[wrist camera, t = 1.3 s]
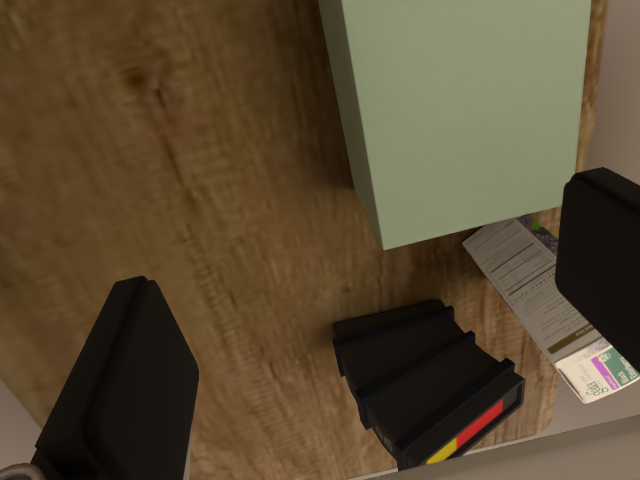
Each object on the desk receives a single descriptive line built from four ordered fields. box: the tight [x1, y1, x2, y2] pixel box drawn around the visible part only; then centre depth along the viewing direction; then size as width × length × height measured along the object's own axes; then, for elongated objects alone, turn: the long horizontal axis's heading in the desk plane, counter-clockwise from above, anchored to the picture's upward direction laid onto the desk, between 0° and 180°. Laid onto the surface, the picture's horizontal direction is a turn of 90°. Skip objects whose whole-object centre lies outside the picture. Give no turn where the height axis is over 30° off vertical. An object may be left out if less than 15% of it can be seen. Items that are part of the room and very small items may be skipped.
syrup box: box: [462, 214, 640, 403], centre depth 32 cm, size 6×6×14 cm
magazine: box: [332, 300, 525, 471], centre depth 37 cm, size 4×13×15 cm, turn 100°
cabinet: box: [318, 0, 591, 250], centre depth 26 cm, size 15×12×9 cm
